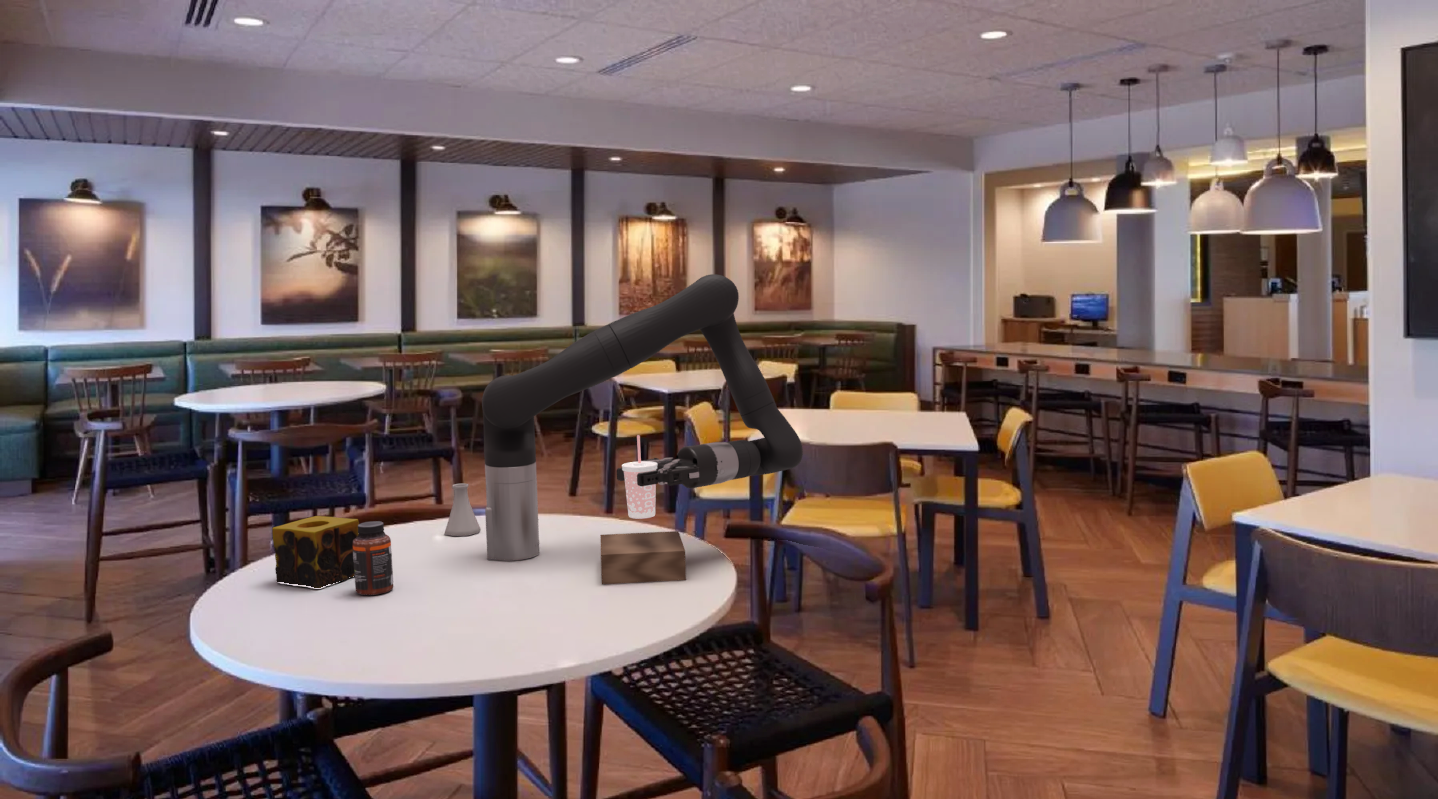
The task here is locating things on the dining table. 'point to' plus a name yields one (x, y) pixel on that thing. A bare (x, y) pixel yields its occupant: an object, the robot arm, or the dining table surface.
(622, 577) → the walnut riser block
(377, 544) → the supplement bottle
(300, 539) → the yellow tissue box cover
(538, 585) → the dining table surface
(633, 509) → the beverage cup
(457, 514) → the flask
